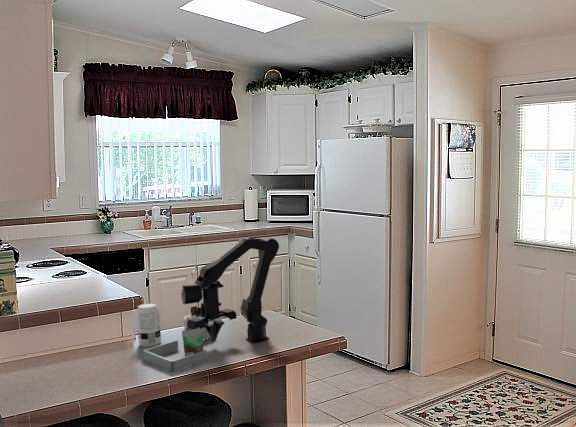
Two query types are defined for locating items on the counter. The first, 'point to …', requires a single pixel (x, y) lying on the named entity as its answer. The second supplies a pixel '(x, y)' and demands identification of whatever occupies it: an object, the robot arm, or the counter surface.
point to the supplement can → (148, 325)
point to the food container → (192, 340)
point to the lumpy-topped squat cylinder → (186, 318)
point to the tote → (154, 358)
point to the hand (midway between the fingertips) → (213, 341)
